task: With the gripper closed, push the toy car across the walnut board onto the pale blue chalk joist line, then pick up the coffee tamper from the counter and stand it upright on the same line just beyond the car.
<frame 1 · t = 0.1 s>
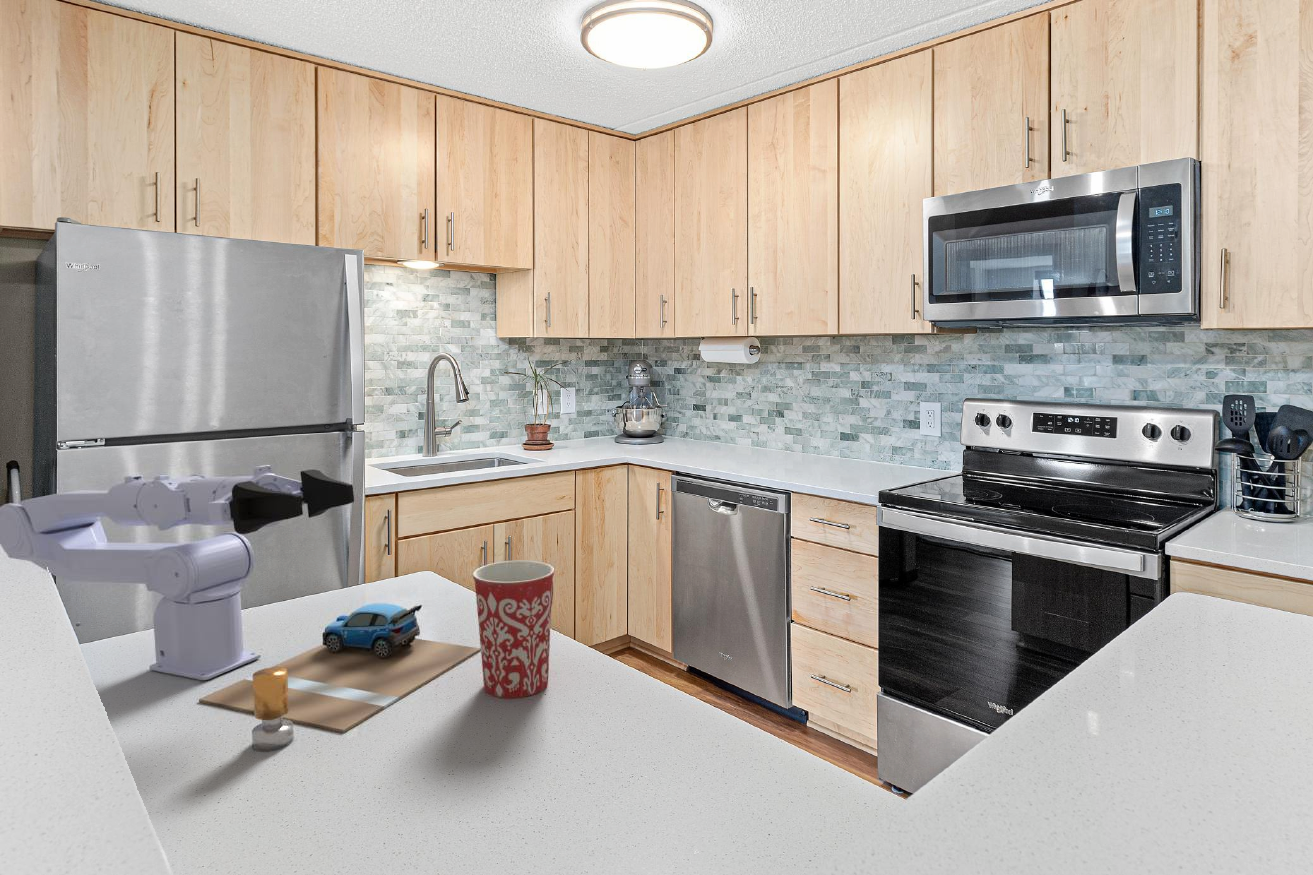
hand: (326, 499, 87), 22 cm above the countertop, tool horizontal, fingers open, 7 cm apart
toy car: (371, 650, 101), resting on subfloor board
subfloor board: (351, 674, 93), on the countertop
coffee tamper: (273, 742, 77), on the countertop
mug: (524, 681, 92), on the countertop
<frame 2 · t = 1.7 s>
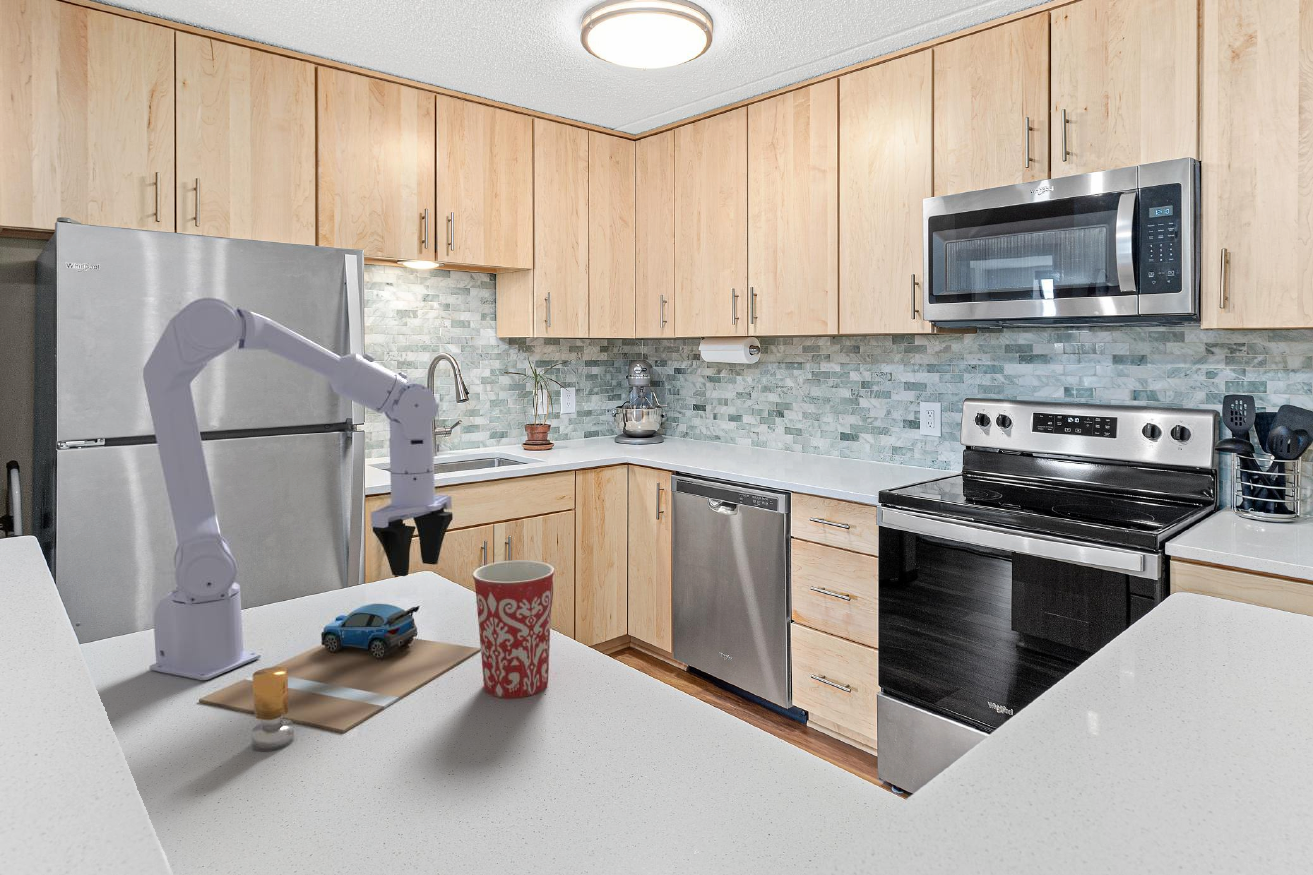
hand: (415, 569, 108), 8 cm above the countertop, tool pointing down, fingers open, 6 cm apart
nothing on the countertop moved.
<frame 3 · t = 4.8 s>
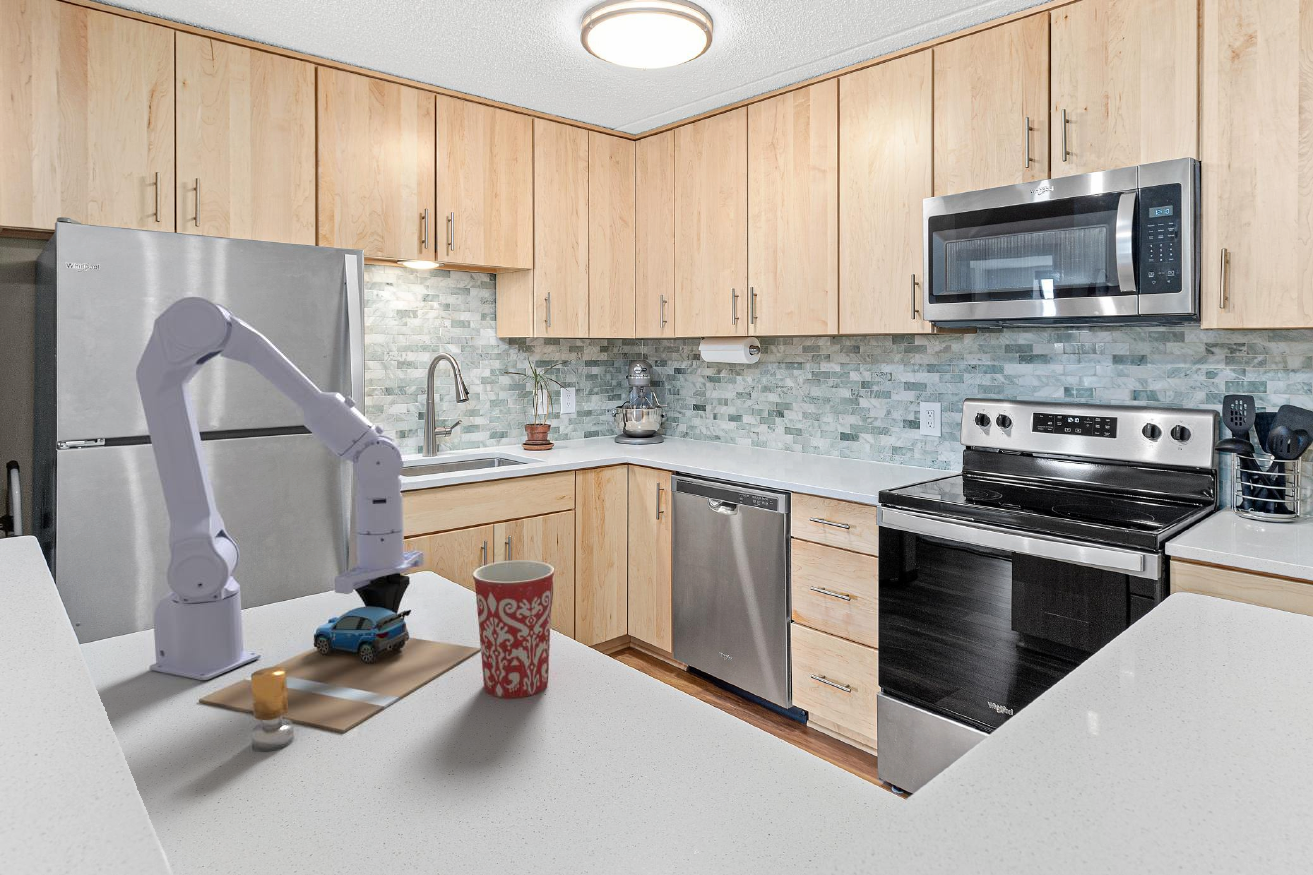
hand: (383, 632, 103), 2 cm above the countertop, tool pointing down, fingers closed
toy car: (361, 653, 100), resting on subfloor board
everything else where it was.
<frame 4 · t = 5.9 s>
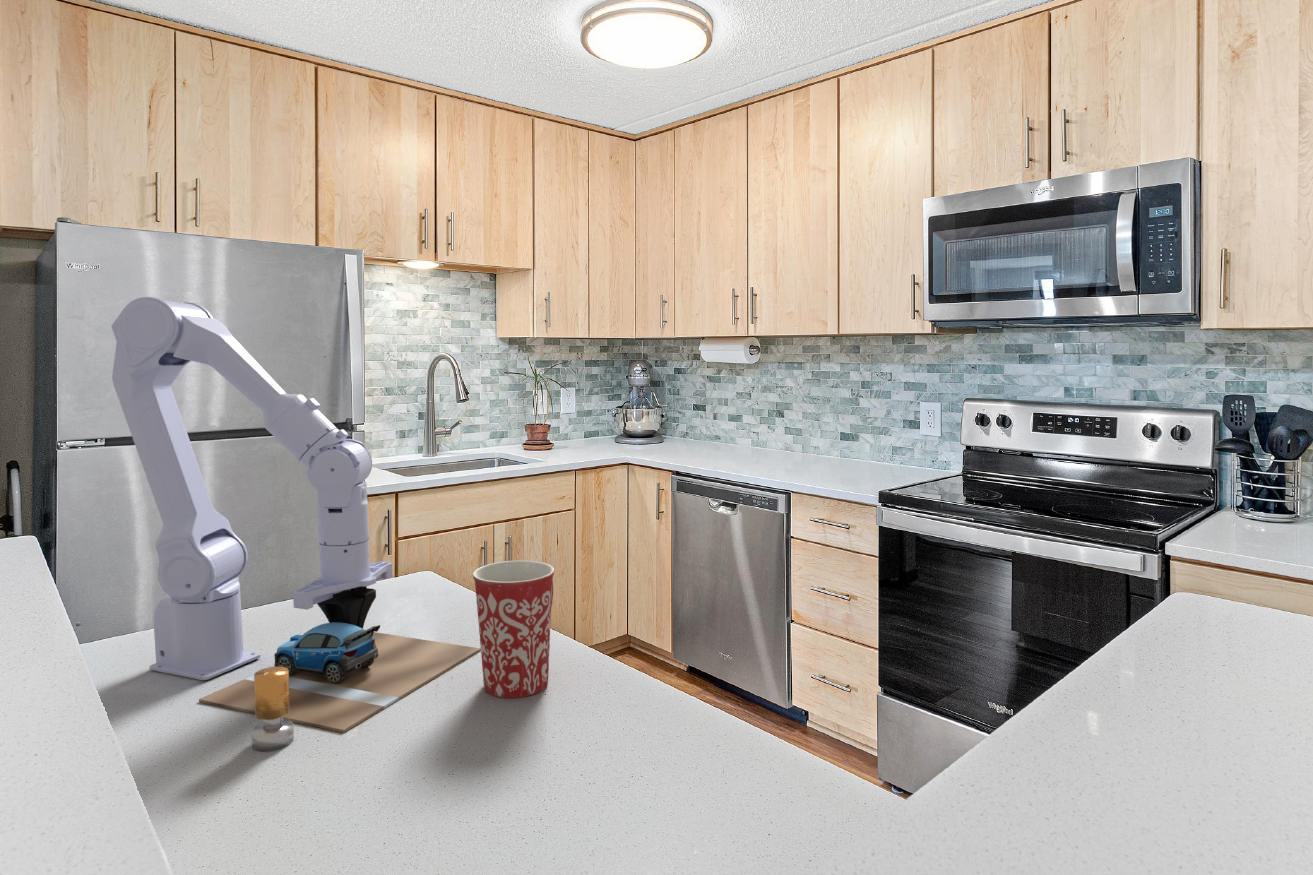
hand: (348, 649, 97), 2 cm above the countertop, tool pointing down, fingers closed
toy car: (326, 672, 93), resting on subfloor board, touching gripper
everything else where it was.
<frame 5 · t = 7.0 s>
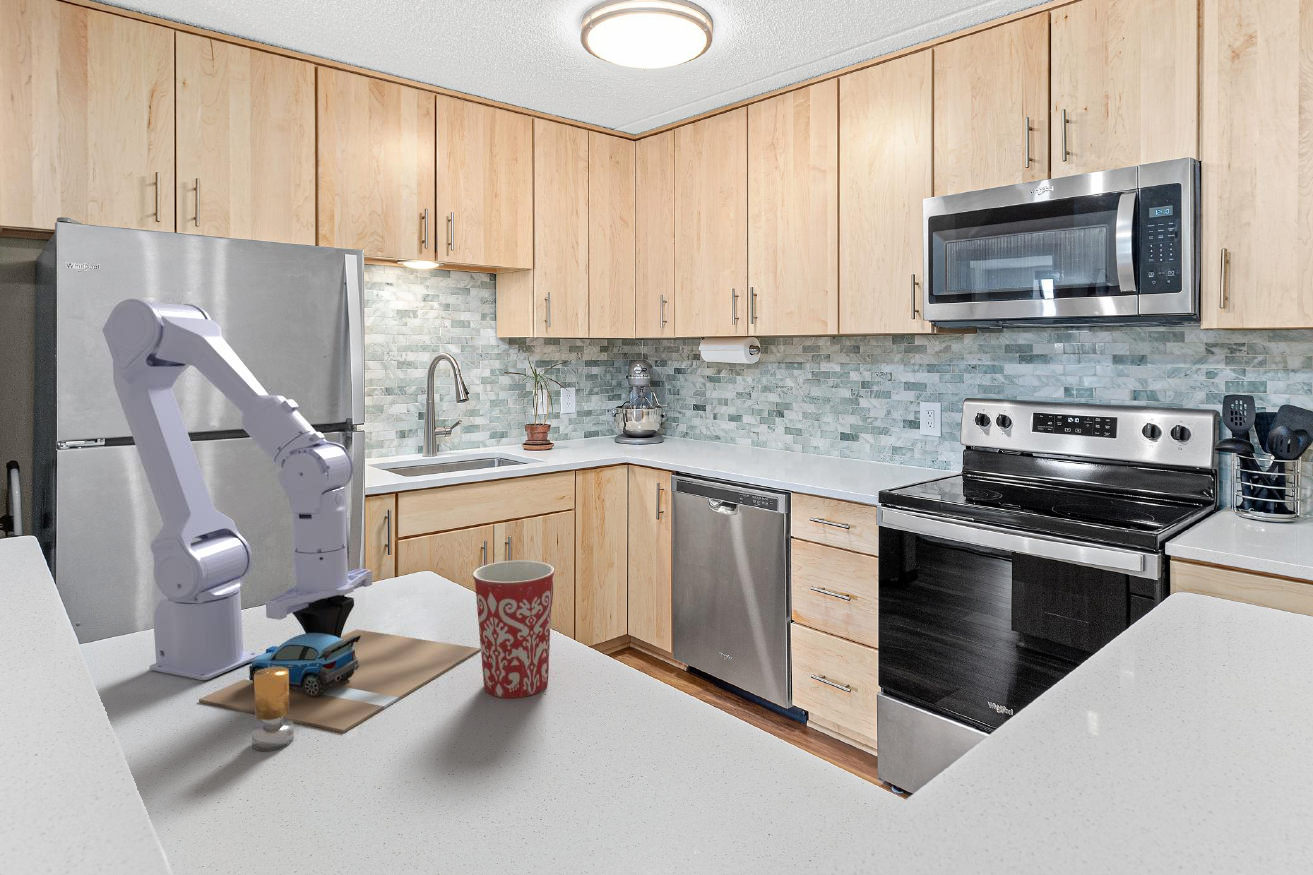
hand: (325, 660, 93), 2 cm above the countertop, tool pointing down, fingers closed
toy car: (304, 685, 90), resting on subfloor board, touching gripper
everything else where it was.
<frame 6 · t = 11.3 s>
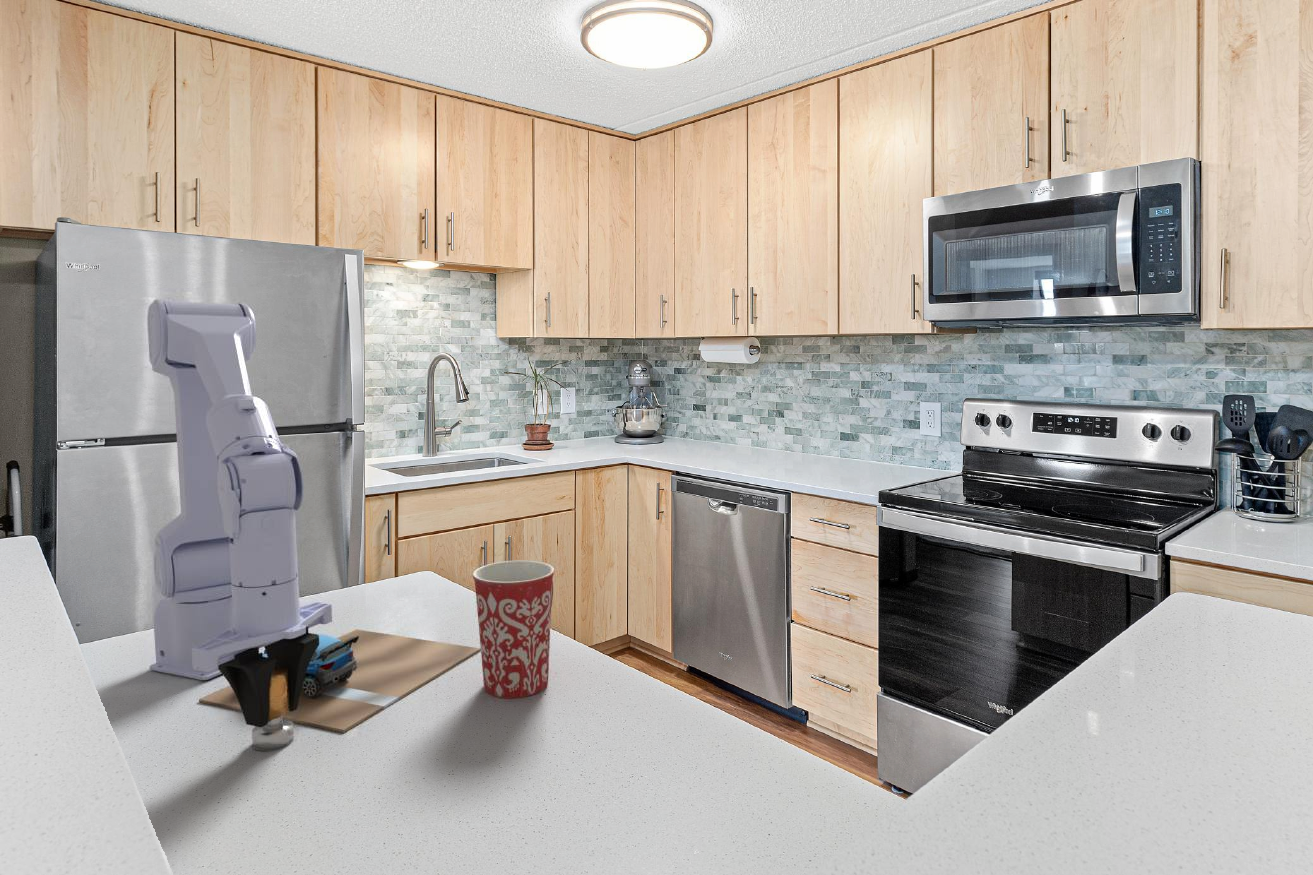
hand: (272, 716, 76), 3 cm above the countertop, tool pointing down, fingers closed on coffee tamper, 3 cm apart
toy car: (302, 686, 90), resting on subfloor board
coffee tamper: (273, 742, 77), on the countertop, touching gripper
everything else where it was.
when the fingers open (4 cm above the countertop, at t = 14.5 s): coffee tamper drops 1 cm, resting on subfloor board.
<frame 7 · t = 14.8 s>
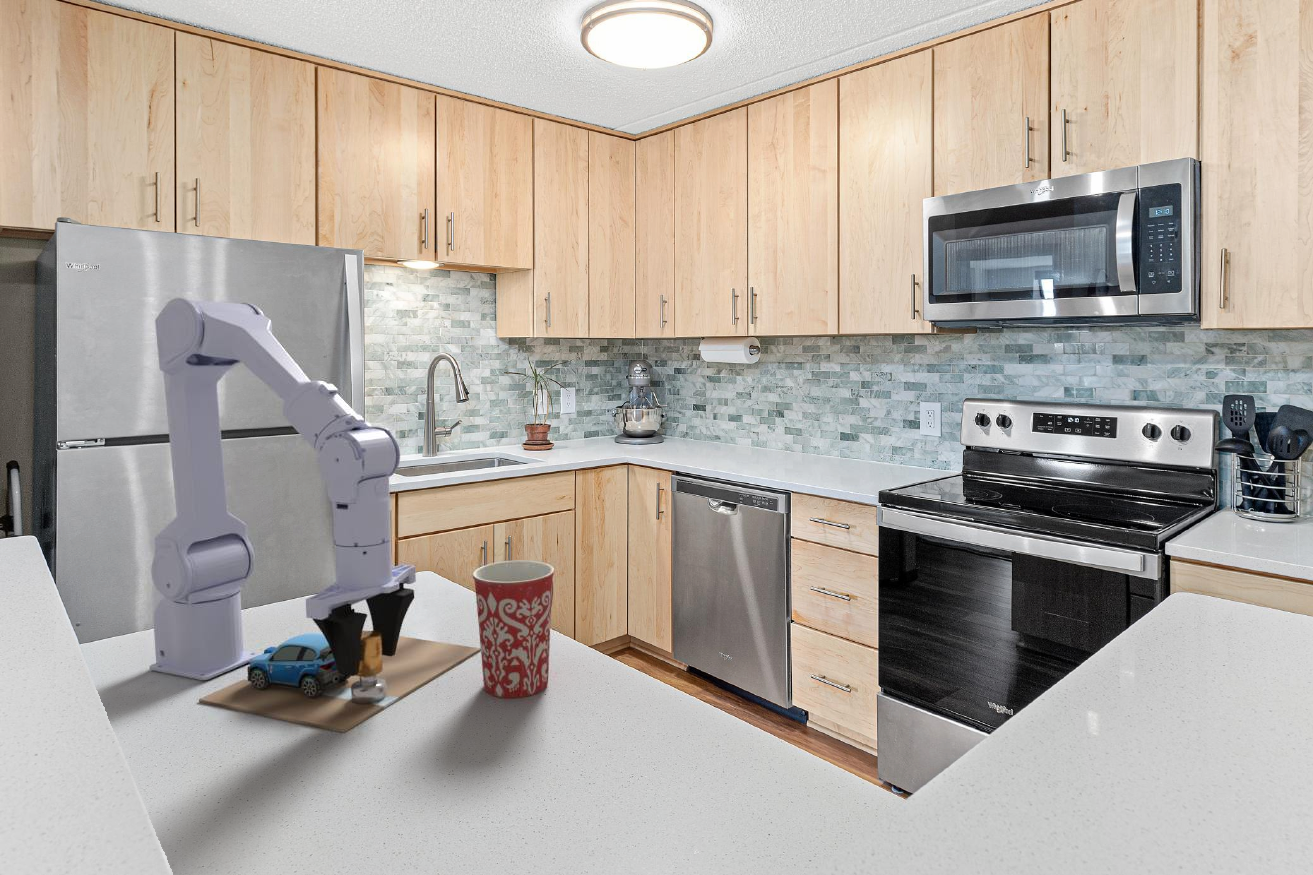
hand: (367, 663, 86), 4 cm above the countertop, tool pointing down, fingers open, 5 cm apart
coffee tamper: (369, 697, 86), resting on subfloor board
everything else where it was.
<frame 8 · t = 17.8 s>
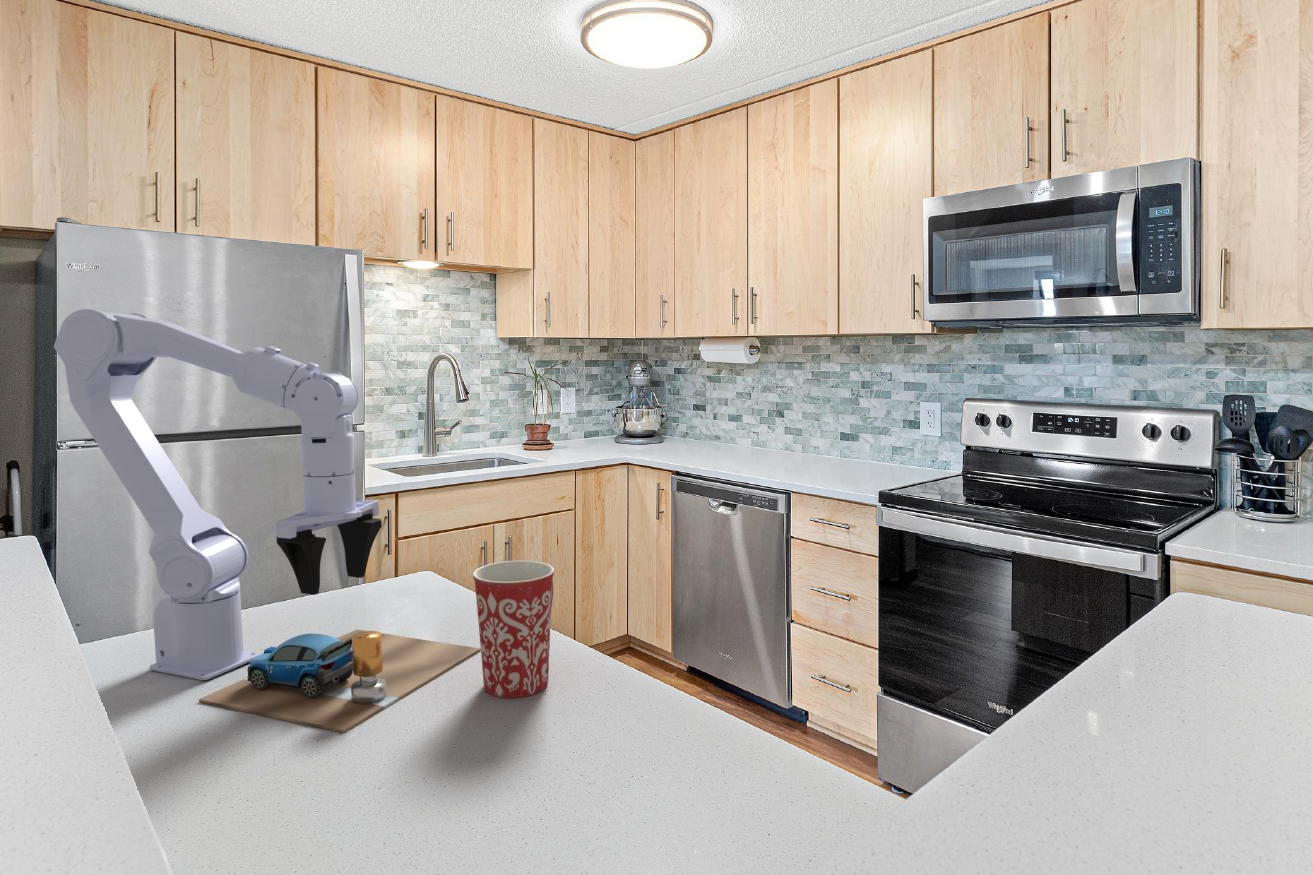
hand: (333, 584, 96), 10 cm above the countertop, tool pointing down, fingers open, 7 cm apart
nothing on the countertop moved.
at the end: toy car 0.6 cm from the target spot, resting on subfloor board; coffee tamper 0.0 cm from the target spot, resting on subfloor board; coffee tamper tilted 0° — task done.
